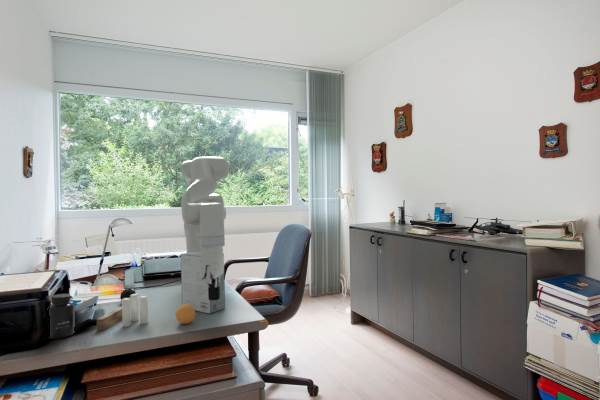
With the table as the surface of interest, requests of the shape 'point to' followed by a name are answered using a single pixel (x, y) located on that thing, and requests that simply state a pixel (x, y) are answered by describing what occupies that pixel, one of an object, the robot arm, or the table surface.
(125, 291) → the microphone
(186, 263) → the hard drive box
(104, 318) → the backstop wall
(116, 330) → the table surface
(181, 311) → the ball
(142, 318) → the front pin
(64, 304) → the supplement bottle
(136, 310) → the back right pin
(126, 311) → the back left pin
